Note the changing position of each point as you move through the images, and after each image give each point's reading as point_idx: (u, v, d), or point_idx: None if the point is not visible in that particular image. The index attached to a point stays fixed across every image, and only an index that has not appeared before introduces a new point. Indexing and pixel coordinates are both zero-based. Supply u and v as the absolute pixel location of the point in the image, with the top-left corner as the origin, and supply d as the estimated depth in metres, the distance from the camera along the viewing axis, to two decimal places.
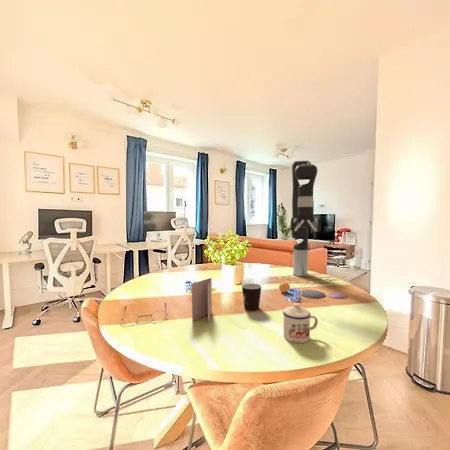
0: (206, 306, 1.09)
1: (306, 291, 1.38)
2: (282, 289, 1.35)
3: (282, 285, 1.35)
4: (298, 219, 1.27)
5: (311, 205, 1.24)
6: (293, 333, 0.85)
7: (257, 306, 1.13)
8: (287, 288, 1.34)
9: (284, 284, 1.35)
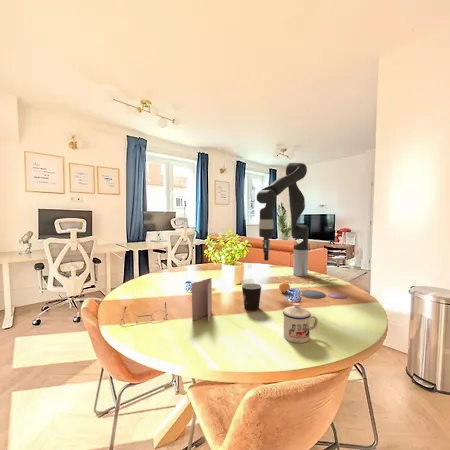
0: (206, 306, 1.09)
1: (306, 291, 1.38)
2: (282, 289, 1.35)
3: (282, 285, 1.35)
4: None
5: (260, 227, 1.35)
6: (293, 333, 0.85)
7: (257, 306, 1.13)
8: (287, 288, 1.34)
9: (284, 284, 1.35)
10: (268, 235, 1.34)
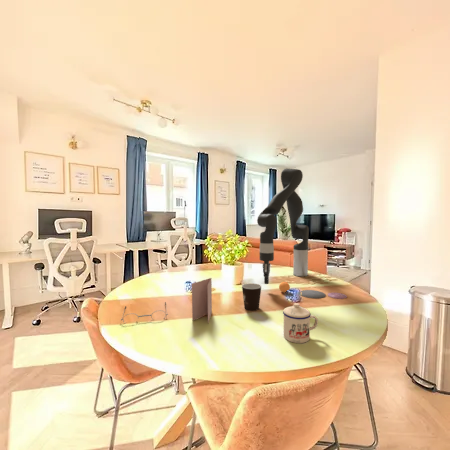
0: (206, 306, 1.09)
1: (306, 291, 1.38)
2: (282, 289, 1.35)
3: (282, 285, 1.35)
4: None
5: (261, 251, 1.36)
6: (293, 333, 0.85)
7: (257, 306, 1.13)
8: (287, 288, 1.34)
9: (284, 284, 1.35)
10: (268, 259, 1.34)
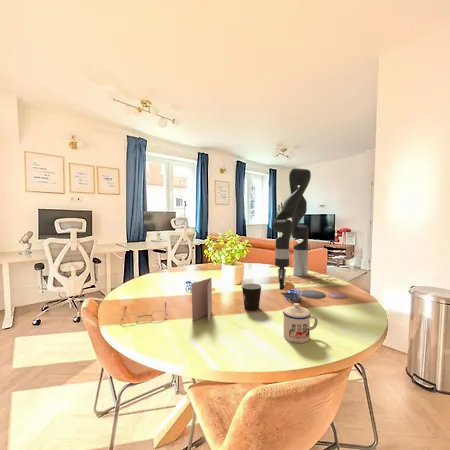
0: (206, 306, 1.09)
1: (306, 291, 1.38)
2: (287, 289, 1.34)
3: (289, 285, 1.34)
4: None
5: (276, 257, 1.35)
6: (293, 333, 0.85)
7: (257, 306, 1.13)
8: None
9: (291, 286, 1.34)
10: (284, 265, 1.33)
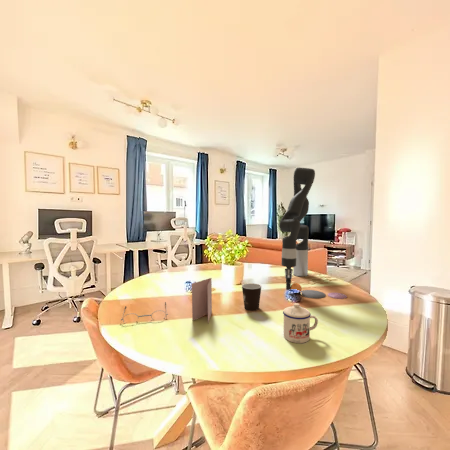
0: (206, 306, 1.09)
1: (306, 291, 1.38)
2: (294, 288, 1.32)
3: (298, 288, 1.32)
4: None
5: (283, 256, 1.33)
6: (293, 333, 0.85)
7: (257, 306, 1.13)
8: None
9: None
10: (291, 265, 1.32)
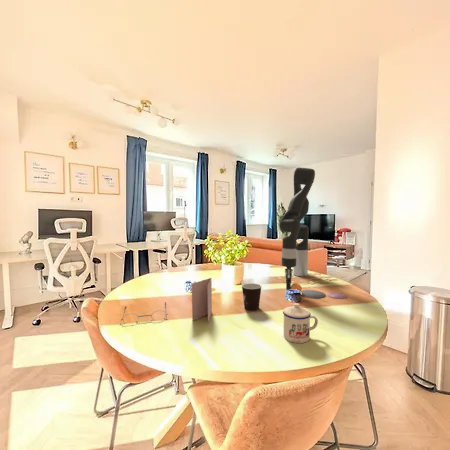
0: (206, 306, 1.09)
1: (306, 291, 1.38)
2: (294, 288, 1.32)
3: (298, 288, 1.32)
4: None
5: (283, 256, 1.33)
6: (293, 333, 0.85)
7: (257, 306, 1.13)
8: None
9: None
10: (291, 265, 1.32)
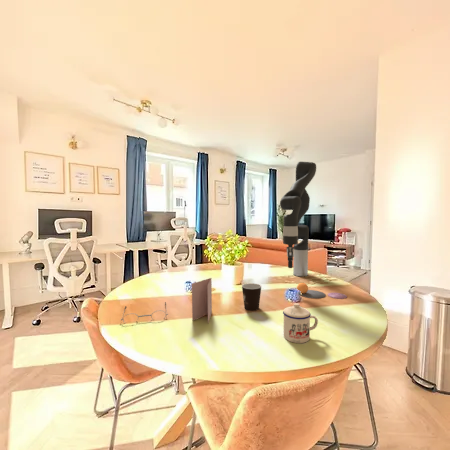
0: (206, 306, 1.09)
1: None
2: (304, 286, 1.33)
3: (305, 290, 1.32)
4: None
5: (285, 234, 1.33)
6: (293, 333, 0.85)
7: (257, 306, 1.13)
8: (299, 289, 1.33)
9: (304, 292, 1.33)
10: (293, 242, 1.31)
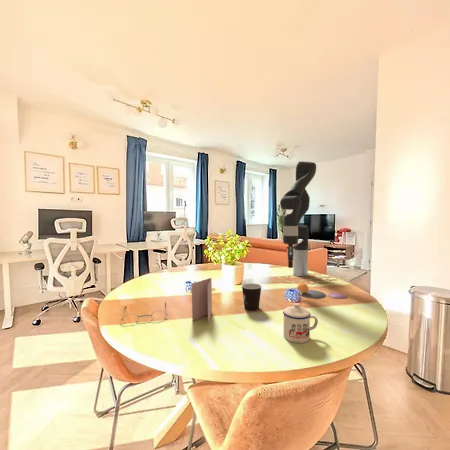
0: (206, 306, 1.09)
1: None
2: (304, 286, 1.33)
3: (305, 290, 1.32)
4: None
5: (285, 234, 1.33)
6: (293, 333, 0.85)
7: (257, 306, 1.13)
8: (299, 289, 1.33)
9: (304, 292, 1.33)
10: (293, 242, 1.31)
